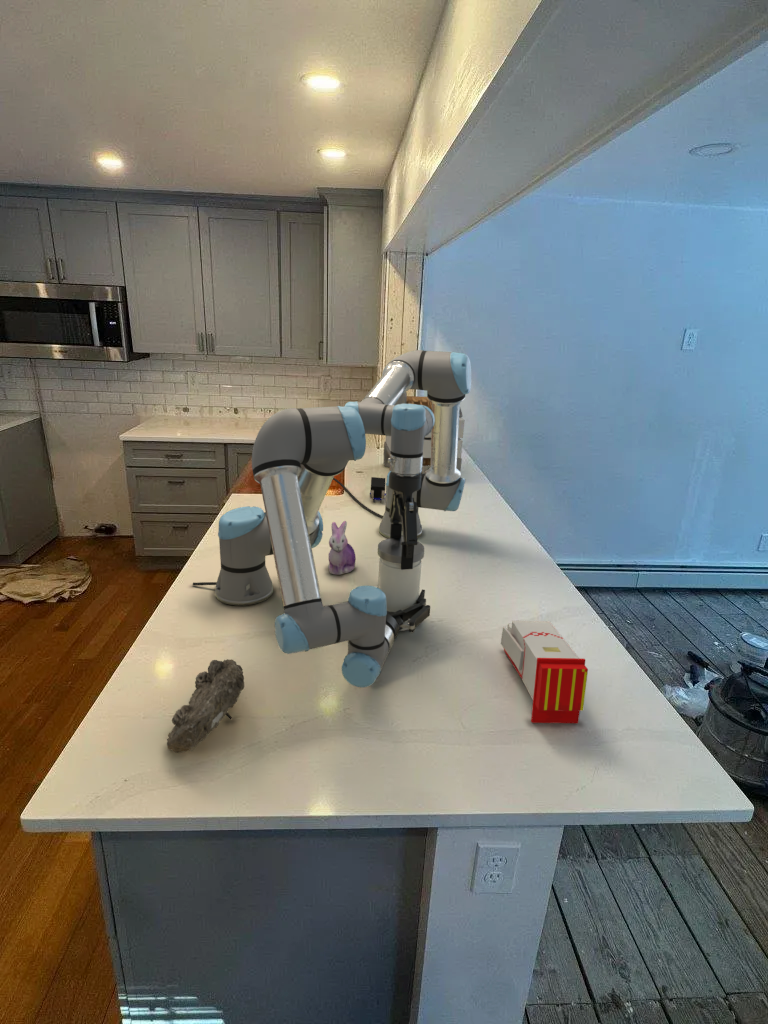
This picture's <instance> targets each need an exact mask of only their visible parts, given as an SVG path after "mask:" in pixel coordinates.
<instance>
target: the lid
mask: <svg viewBox="0 0 768 1024" xmlns="http://www.w3.org/2000/svg"><path fill="white" fill-rule="evenodd" d="M411 540H412V539H411ZM401 542H404V541H403V538H385V539H383V540H381V541H380V542H378V545H377V556H378V557H379V559H380V558H382V559H383V560H385V561H388V562H392V563H398V564H401V555H402V545H401ZM417 542H418V543H417V545H414V555H413V563H415V562H418V561H420V560H421V561H422V560H423V559H424V557H425V549H426V548H425V546H424V544H423V543H421V542H420V541H418V540H417Z"/></svg>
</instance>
